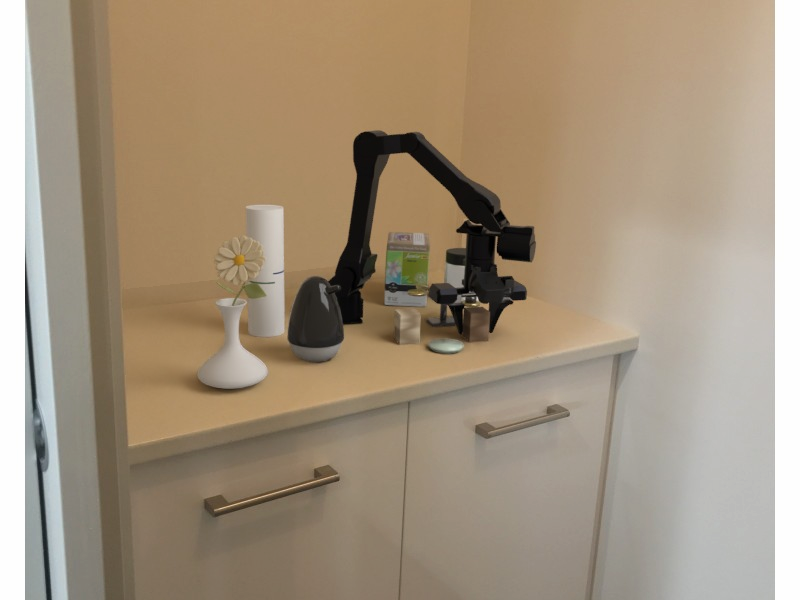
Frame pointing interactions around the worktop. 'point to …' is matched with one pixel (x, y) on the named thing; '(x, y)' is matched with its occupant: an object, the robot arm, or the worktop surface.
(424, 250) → the tea box
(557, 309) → the worktop surface
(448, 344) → the dish
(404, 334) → the block beech
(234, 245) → the flower in vase
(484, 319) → the block walnut
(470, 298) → the balance
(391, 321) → the worktop surface
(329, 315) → the pump dispenser
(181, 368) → the worktop surface
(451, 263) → the jar
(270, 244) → the cylindrical container
